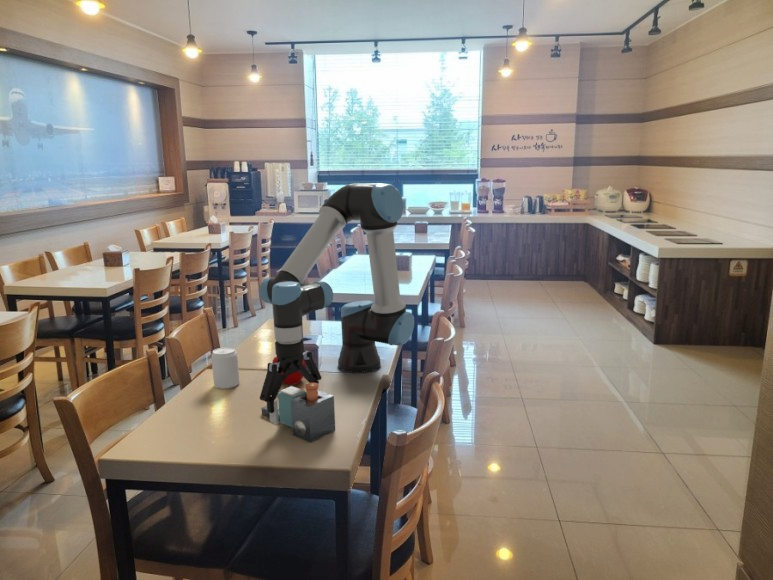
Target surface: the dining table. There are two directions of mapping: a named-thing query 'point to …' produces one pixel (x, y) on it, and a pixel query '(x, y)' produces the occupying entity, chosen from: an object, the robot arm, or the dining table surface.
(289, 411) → the block
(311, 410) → the grey box
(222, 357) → the beverage can
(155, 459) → the dining table surface
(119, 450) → the dining table surface
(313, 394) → the plunger
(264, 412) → the rail
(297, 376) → the tomato
